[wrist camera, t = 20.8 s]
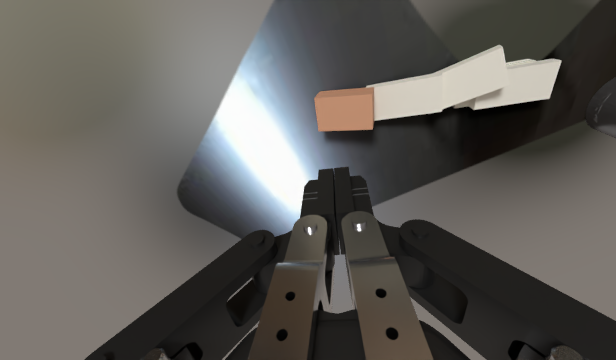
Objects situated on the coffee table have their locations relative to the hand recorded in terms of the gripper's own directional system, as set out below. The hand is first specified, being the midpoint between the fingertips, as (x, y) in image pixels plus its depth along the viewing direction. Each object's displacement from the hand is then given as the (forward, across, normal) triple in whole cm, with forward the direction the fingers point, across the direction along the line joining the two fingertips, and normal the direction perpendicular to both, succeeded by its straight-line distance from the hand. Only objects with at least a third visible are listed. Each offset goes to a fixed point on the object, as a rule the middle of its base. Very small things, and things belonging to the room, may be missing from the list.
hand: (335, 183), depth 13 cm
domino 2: (+29, -5, +5) cm, 30 cm away
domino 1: (+28, +2, +5) cm, 28 cm away
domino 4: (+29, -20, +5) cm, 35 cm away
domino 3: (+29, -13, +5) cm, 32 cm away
